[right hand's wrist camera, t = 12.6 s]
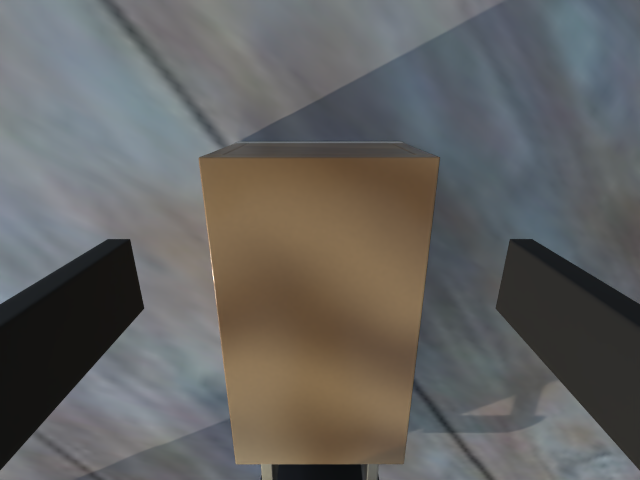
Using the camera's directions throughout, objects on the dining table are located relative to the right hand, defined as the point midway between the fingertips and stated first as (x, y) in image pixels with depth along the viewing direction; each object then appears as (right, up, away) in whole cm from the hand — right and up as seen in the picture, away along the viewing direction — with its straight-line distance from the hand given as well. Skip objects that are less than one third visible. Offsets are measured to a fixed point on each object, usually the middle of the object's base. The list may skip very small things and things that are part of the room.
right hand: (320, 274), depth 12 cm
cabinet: (0, -1, +15) cm, 15 cm away
